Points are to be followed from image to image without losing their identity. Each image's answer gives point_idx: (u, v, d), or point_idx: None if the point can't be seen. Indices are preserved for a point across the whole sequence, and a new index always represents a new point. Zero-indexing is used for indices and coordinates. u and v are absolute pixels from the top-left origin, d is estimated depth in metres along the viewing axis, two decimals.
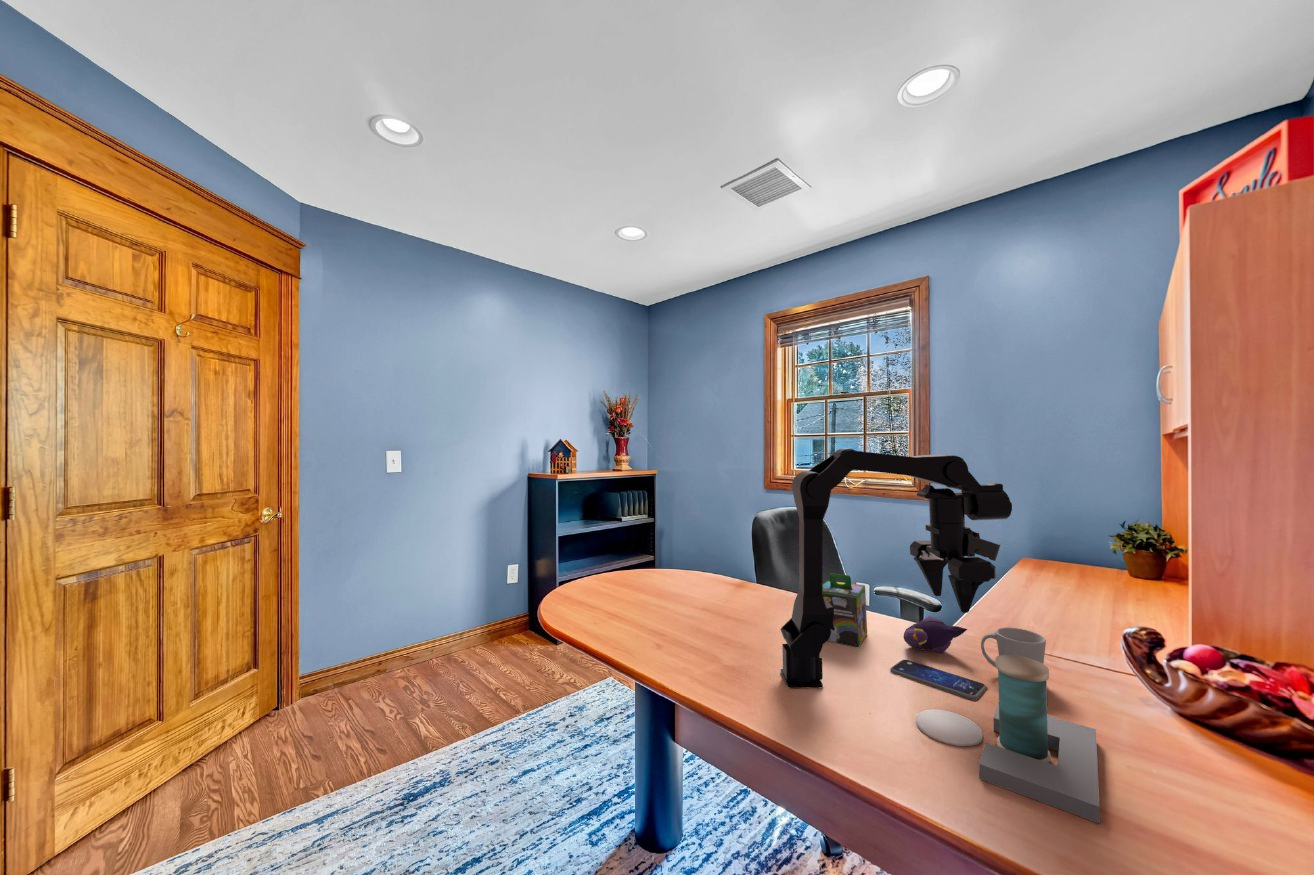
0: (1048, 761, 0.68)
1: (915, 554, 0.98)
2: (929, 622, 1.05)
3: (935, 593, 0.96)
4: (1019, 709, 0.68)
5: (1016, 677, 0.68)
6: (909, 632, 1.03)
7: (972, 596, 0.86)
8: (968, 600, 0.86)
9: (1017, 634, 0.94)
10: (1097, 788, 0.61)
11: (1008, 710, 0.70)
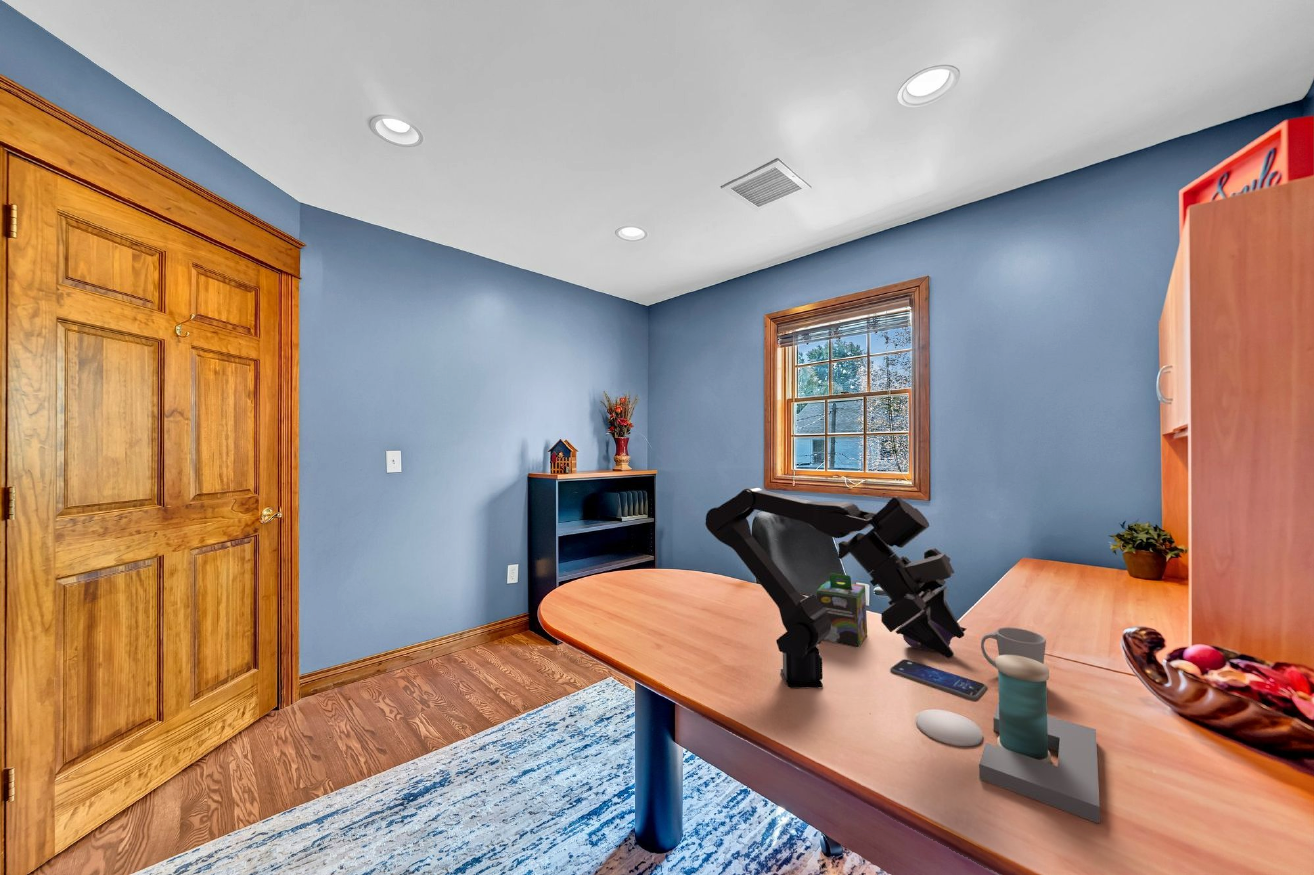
0: (1048, 761, 0.68)
1: None
2: None
3: (956, 635, 0.80)
4: (1019, 709, 0.68)
5: (1016, 677, 0.68)
6: None
7: (936, 637, 0.73)
8: (938, 643, 0.73)
9: (1017, 634, 0.94)
10: (1097, 788, 0.61)
11: (1008, 710, 0.70)
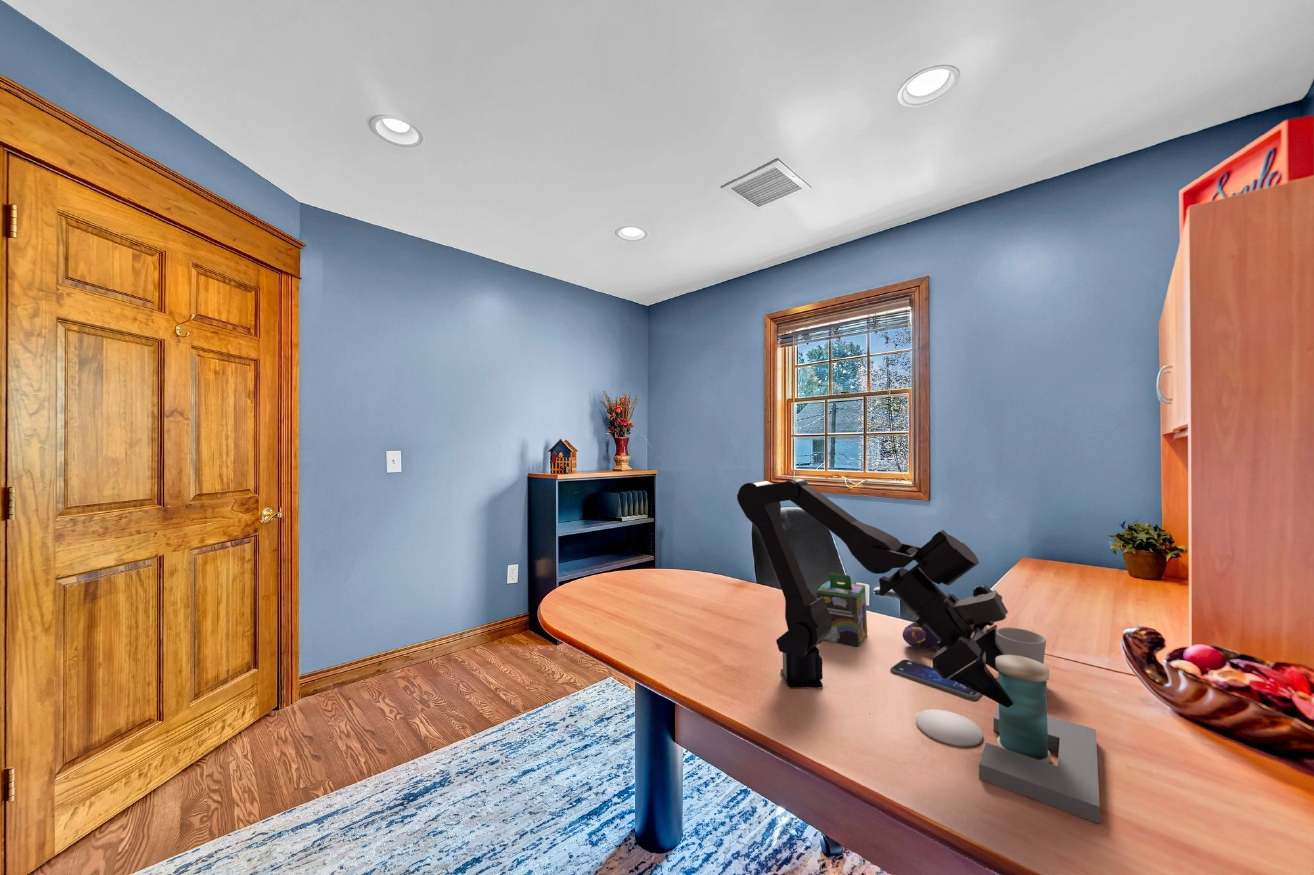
0: (1048, 761, 0.68)
1: None
2: None
3: None
4: (1019, 710, 0.68)
5: (1016, 677, 0.68)
6: (908, 630, 1.04)
7: (994, 684, 0.68)
8: (995, 691, 0.68)
9: (1017, 634, 0.94)
10: (1097, 788, 0.61)
11: (1008, 710, 0.70)
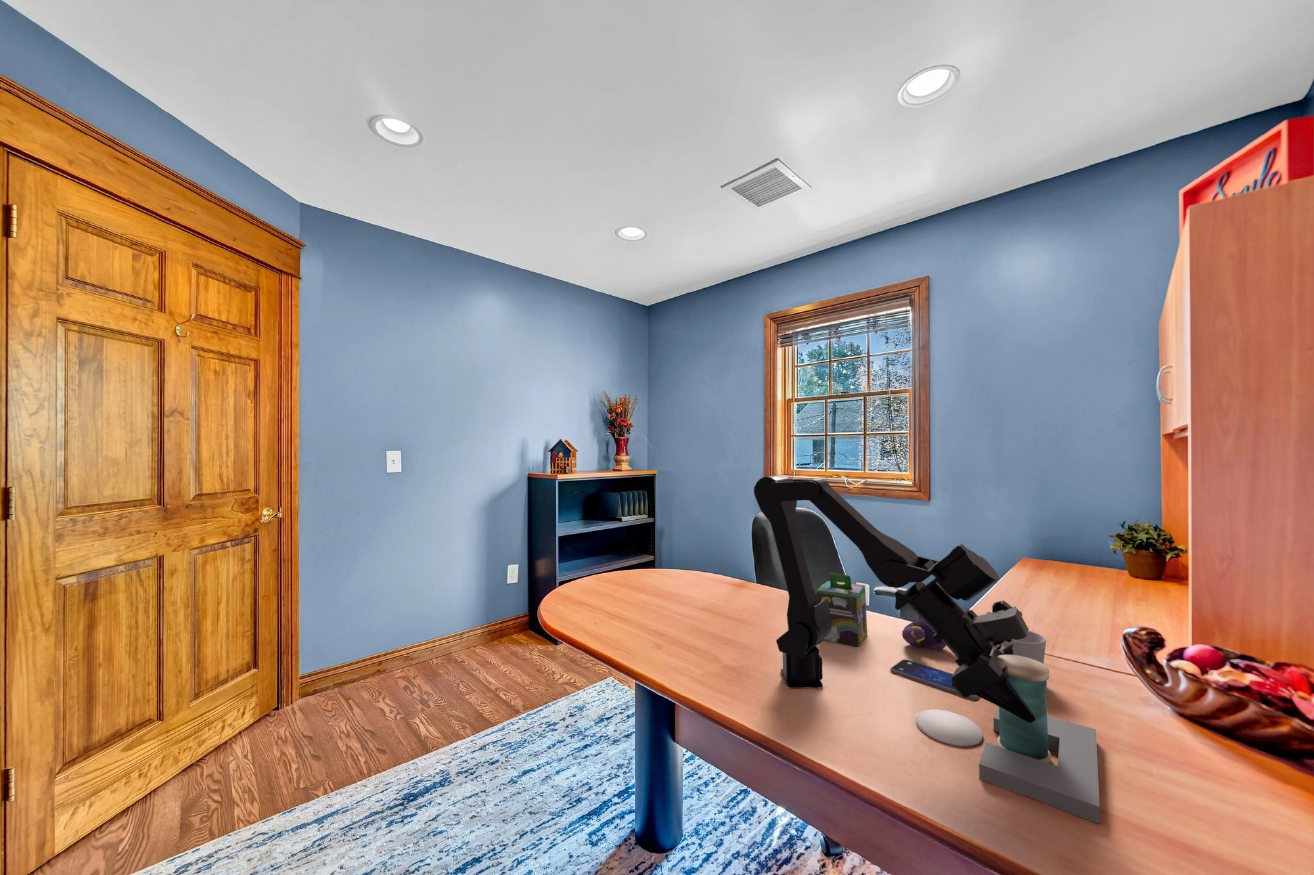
0: (1048, 761, 0.68)
1: None
2: None
3: None
4: None
5: (1016, 677, 0.68)
6: (907, 630, 1.04)
7: (1016, 699, 0.68)
8: (1017, 706, 0.68)
9: None
10: (1097, 788, 0.61)
11: None
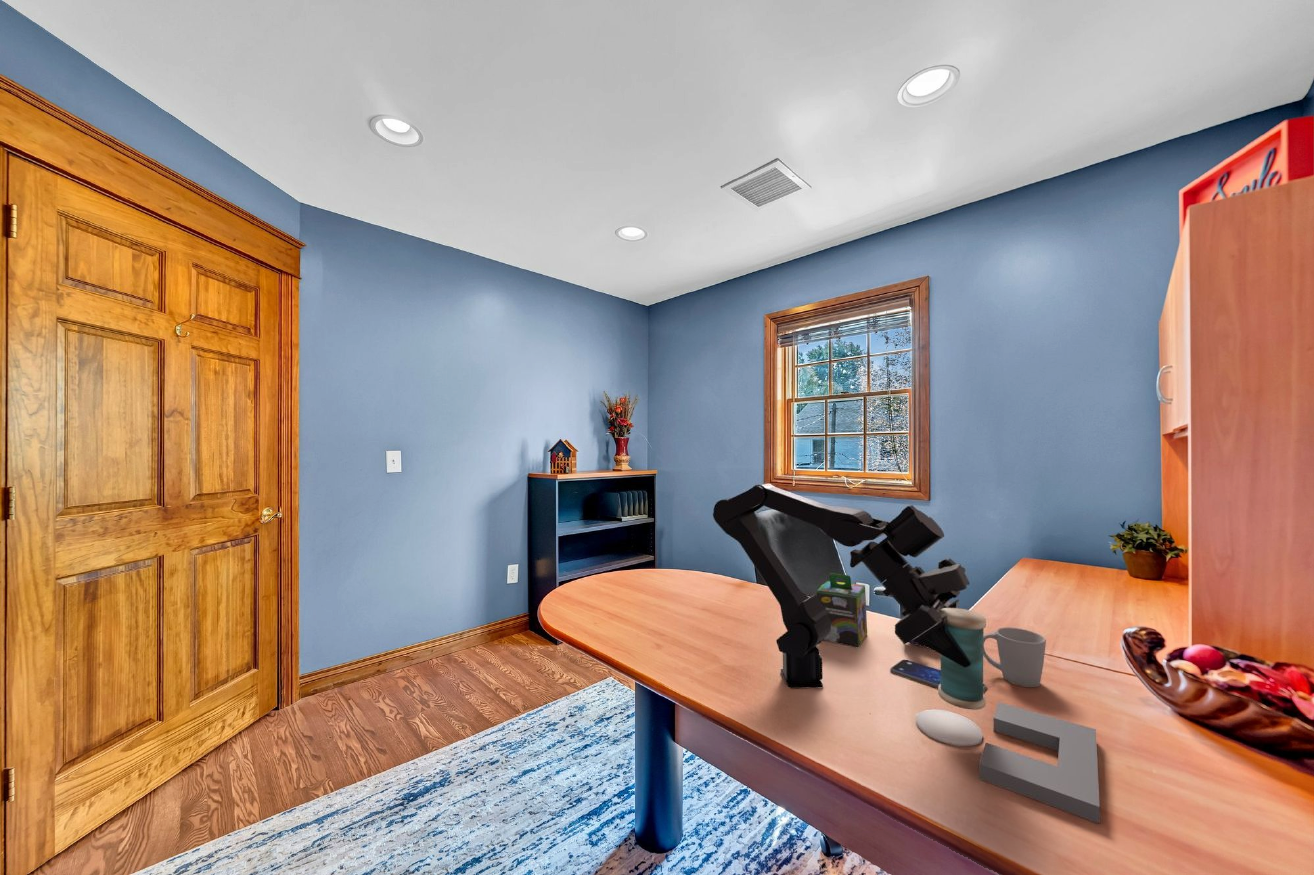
0: (982, 703, 0.73)
1: None
2: None
3: None
4: None
5: (955, 626, 0.73)
6: None
7: (953, 646, 0.73)
8: (955, 652, 0.73)
9: (1017, 634, 0.94)
10: (1097, 788, 0.61)
11: None
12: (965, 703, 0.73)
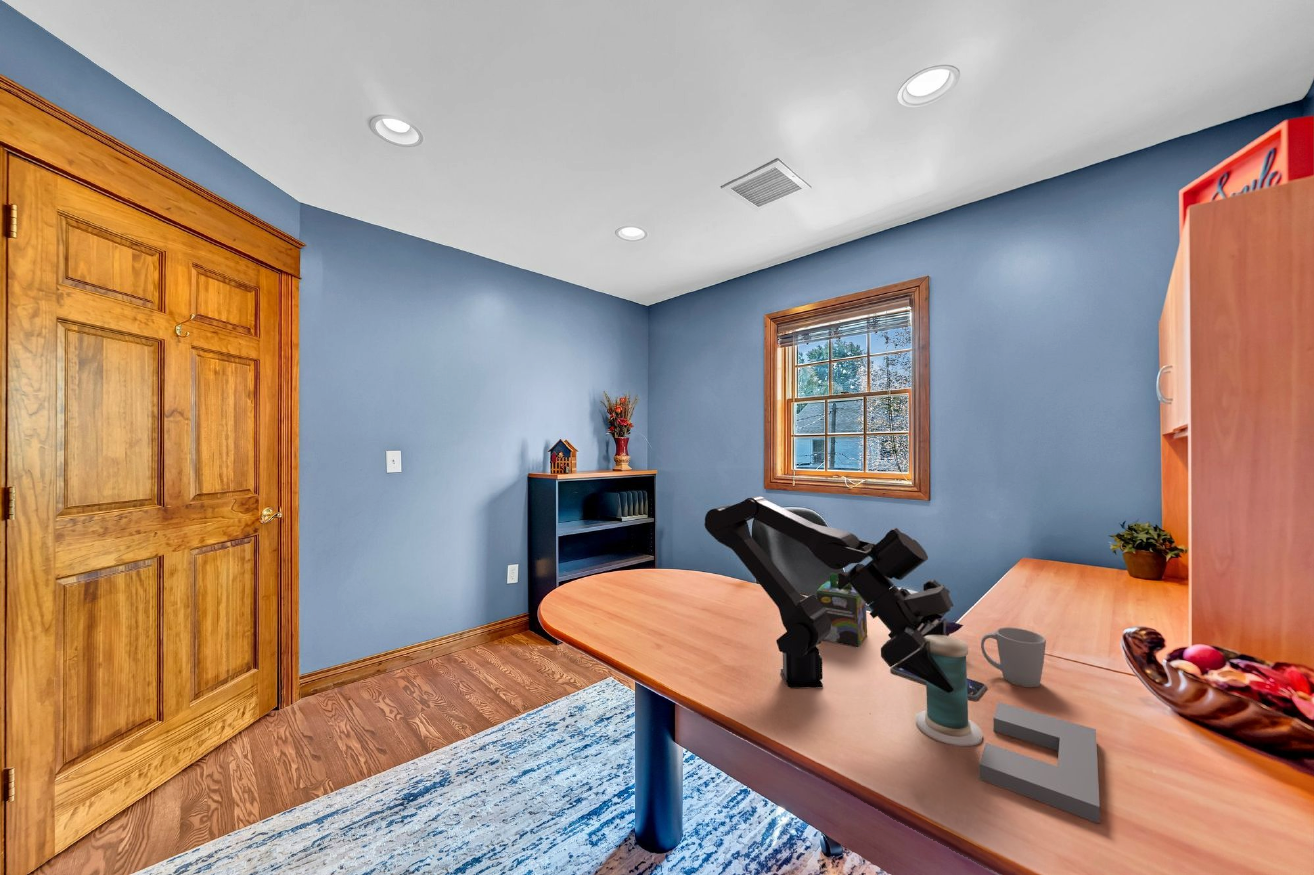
0: (967, 730, 0.74)
1: None
2: None
3: None
4: None
5: (938, 653, 0.75)
6: None
7: (936, 671, 0.73)
8: (938, 677, 0.73)
9: (1017, 634, 0.94)
10: (1097, 788, 0.61)
11: (932, 684, 0.76)
12: (950, 730, 0.74)
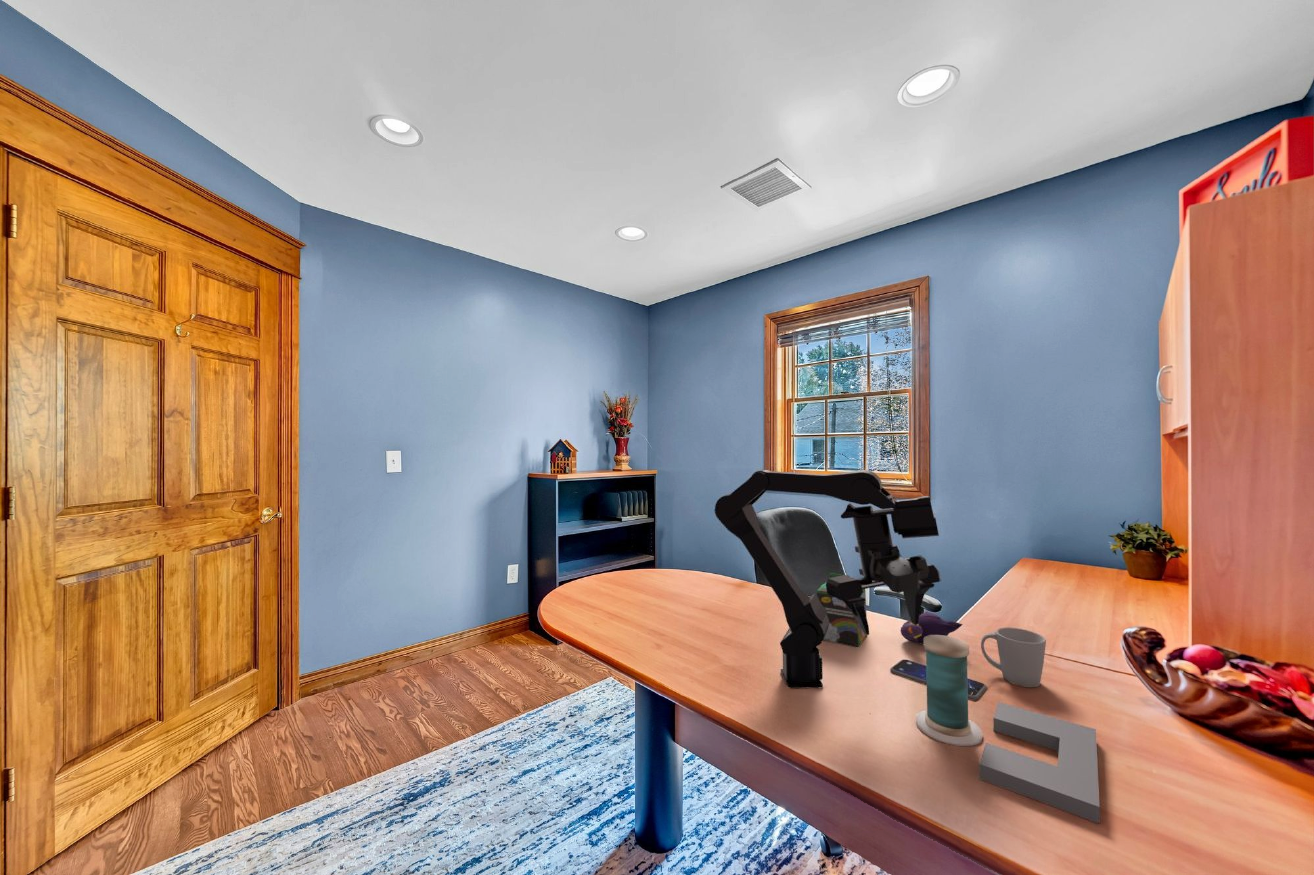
0: (967, 730, 0.74)
1: None
2: (926, 617, 1.08)
3: (911, 620, 0.87)
4: (942, 683, 0.75)
5: (939, 654, 0.75)
6: (905, 626, 1.06)
7: (859, 618, 0.84)
8: (860, 621, 0.85)
9: (1017, 634, 0.94)
10: (1097, 788, 0.61)
11: (933, 684, 0.76)
12: (950, 730, 0.74)
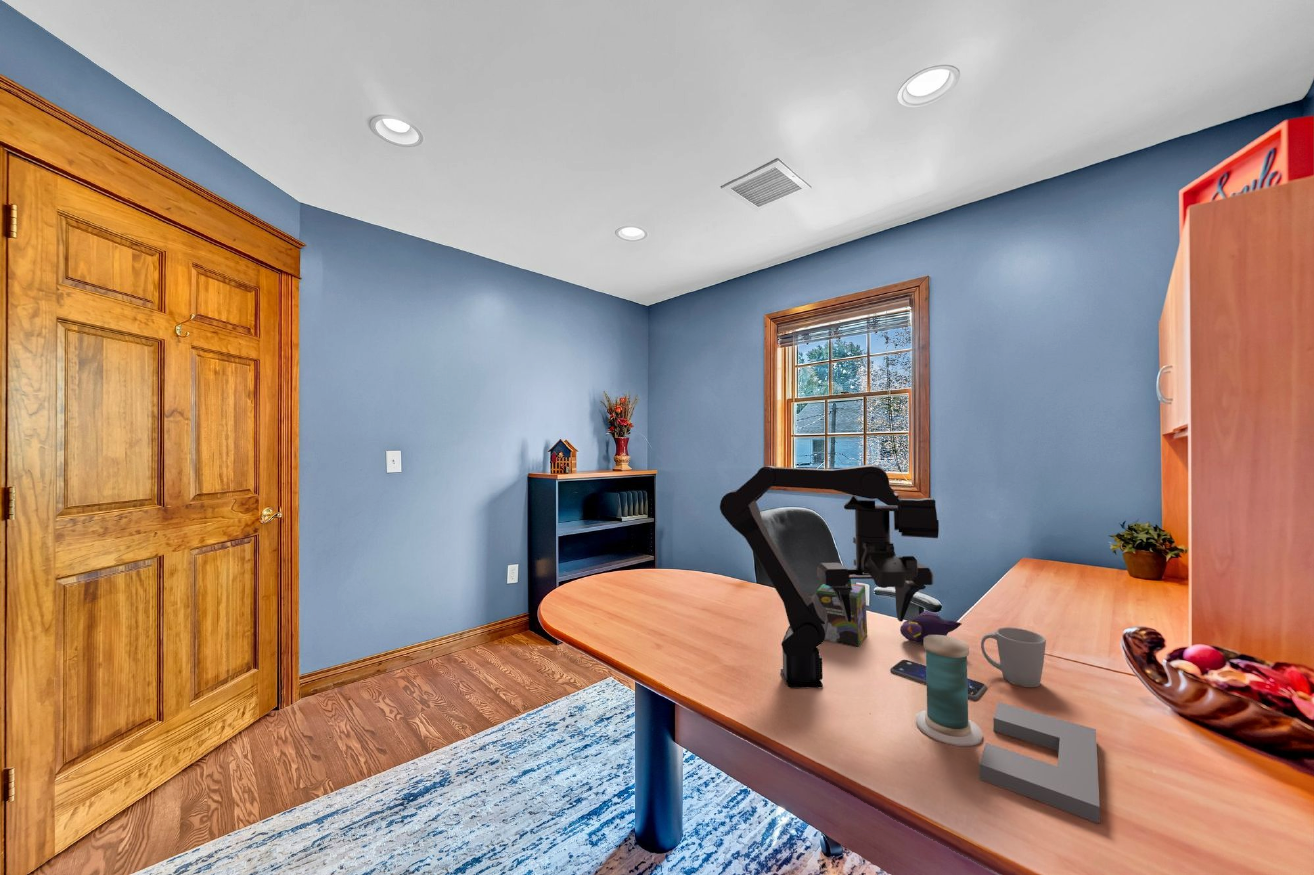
0: (967, 730, 0.74)
1: None
2: (926, 616, 1.08)
3: (897, 616, 0.88)
4: (942, 683, 0.75)
5: (939, 654, 0.75)
6: (905, 625, 1.07)
7: (843, 605, 0.87)
8: (843, 608, 0.88)
9: (1017, 634, 0.94)
10: (1097, 788, 0.61)
11: (933, 684, 0.76)
12: (950, 730, 0.74)
